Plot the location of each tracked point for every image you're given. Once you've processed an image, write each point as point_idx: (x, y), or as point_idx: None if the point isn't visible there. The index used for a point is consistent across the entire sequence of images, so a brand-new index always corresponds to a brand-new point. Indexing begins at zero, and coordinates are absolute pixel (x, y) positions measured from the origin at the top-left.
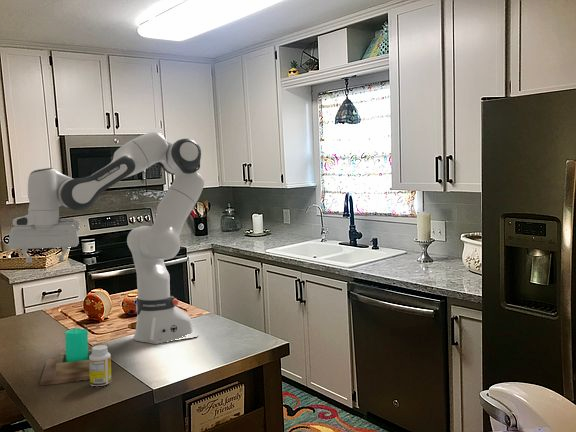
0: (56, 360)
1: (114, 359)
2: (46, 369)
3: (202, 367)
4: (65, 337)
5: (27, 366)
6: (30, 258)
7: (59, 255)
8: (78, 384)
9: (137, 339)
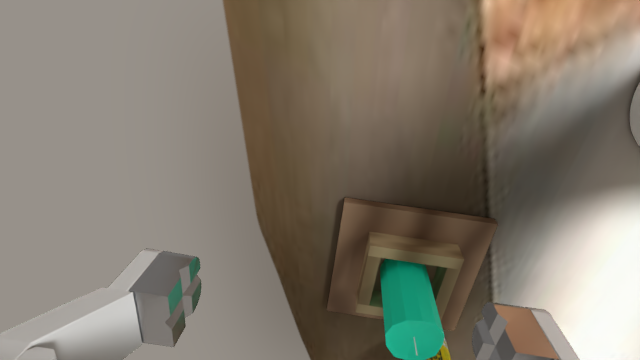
0: (364, 217)
1: (496, 239)
2: (339, 261)
3: (632, 356)
4: (384, 324)
5: (300, 195)
6: (174, 336)
7: (522, 353)
8: None
9: (633, 122)
